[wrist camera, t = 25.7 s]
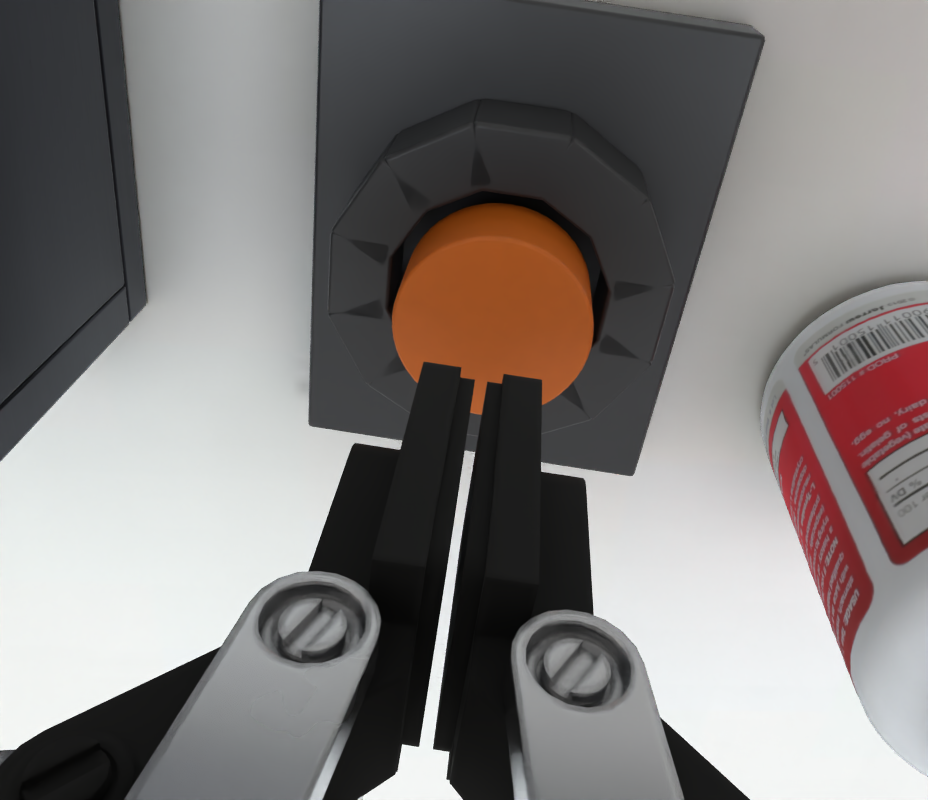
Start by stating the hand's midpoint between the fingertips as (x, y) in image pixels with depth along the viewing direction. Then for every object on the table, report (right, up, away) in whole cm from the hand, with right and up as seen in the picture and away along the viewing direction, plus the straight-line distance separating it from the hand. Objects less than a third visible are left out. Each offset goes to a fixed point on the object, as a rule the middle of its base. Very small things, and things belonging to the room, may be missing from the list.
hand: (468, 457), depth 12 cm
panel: (+1, +4, +6) cm, 8 cm away
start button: (+1, +3, +4) cm, 5 cm away
